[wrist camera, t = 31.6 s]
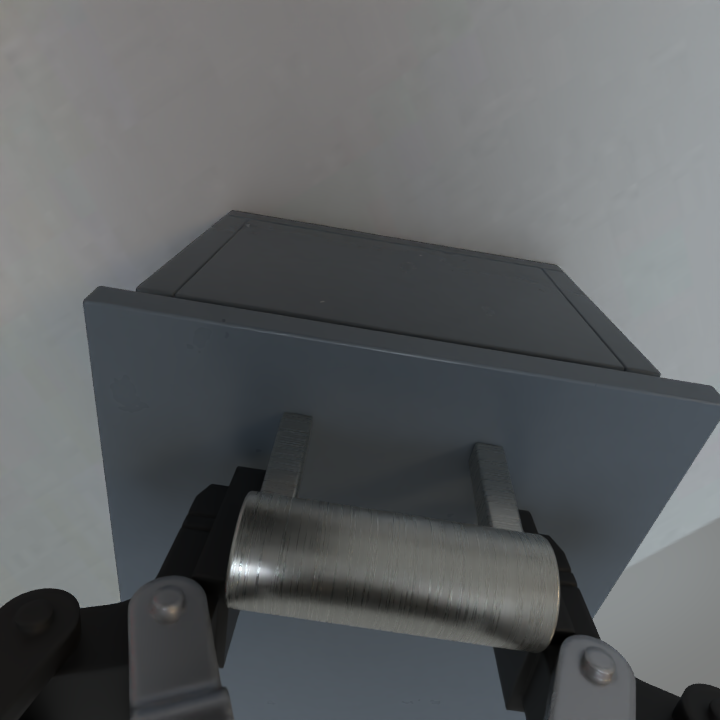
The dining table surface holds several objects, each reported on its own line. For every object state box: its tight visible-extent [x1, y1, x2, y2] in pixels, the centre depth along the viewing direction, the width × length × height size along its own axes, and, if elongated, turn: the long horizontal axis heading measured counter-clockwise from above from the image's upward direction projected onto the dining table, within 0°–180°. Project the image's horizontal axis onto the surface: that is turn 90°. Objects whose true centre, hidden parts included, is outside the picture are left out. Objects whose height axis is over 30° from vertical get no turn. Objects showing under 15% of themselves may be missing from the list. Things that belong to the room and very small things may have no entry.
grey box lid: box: [83, 286, 720, 720], centre depth 15 cm, size 18×14×5 cm
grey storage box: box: [136, 210, 660, 377], centre depth 23 cm, size 17×14×10 cm
